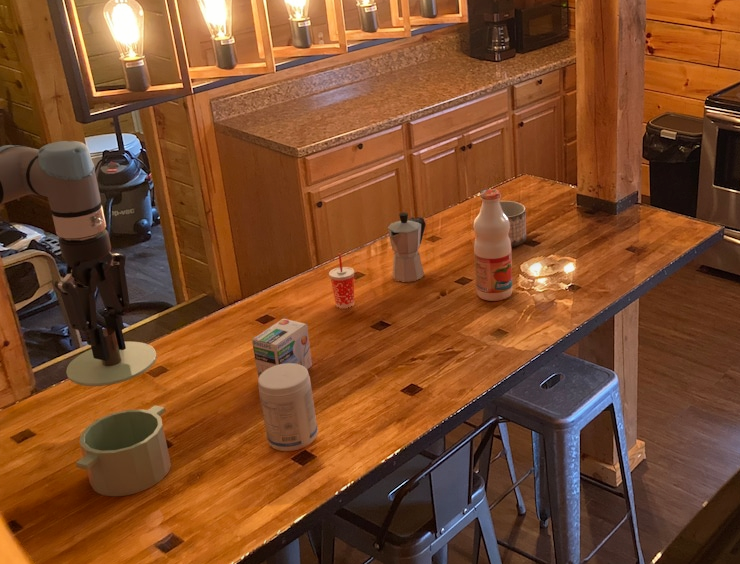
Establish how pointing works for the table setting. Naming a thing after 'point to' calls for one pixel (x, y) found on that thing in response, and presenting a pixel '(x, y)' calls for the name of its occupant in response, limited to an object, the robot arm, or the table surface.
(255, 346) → the light bulb box
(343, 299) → the beverage cup
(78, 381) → the green pot lid
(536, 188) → the table surface
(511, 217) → the planter
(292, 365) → the supplement tub
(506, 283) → the fruit juice
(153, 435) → the pale green cooking pot
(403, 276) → the coffee maker
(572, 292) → the table surface
